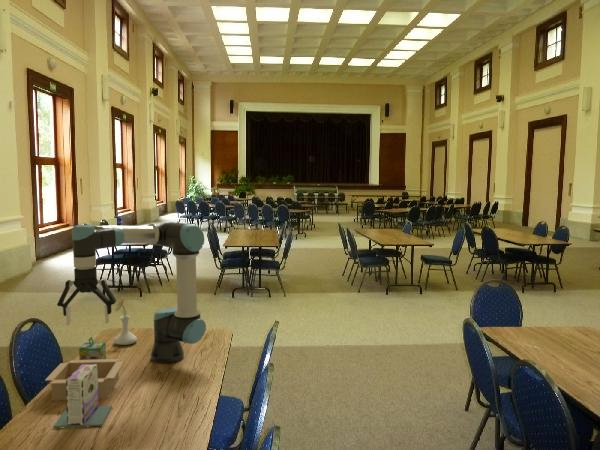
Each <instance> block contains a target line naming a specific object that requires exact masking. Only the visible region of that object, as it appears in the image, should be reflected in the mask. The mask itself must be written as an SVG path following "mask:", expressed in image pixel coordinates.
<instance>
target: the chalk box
mask: <svg viewBox="0 0 600 450" xmlns="http://www.w3.org/2000/svg"><path fill="white" fill-rule="evenodd" d="M106 345H107V344H106V342H105V341H94V339H93V337H92V336H90V337H89V338H88V342H84V343H83V344H82V345H81V346H80V348H78V353H79V354H78V355H79V360H95V359H107V350H106V349H107V348H106V347H107V346H106Z"/></svg>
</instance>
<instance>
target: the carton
mask: <svg viewBox="0 0 600 450" xmlns="http://www.w3.org/2000/svg"><path fill="white" fill-rule="evenodd" d="M124 363H125V362H124V361H119V358H106V359H95V360H80V359H71V360H70V361H69V362H61V363H59V365H57V367H56V368H55V369H54V370H52V372H51V373H50V374H49V375H48V376H47V377H46V378H45V379H44V381H45V382H50V387H51V401H52V402H53V401H54V402H55V401H67V392H66V379H67V378H69V377H70V376H71V375H72V374H73V373H74V372H75V371H76V370H77V369H78V368H79V367H80V366H81V365H82V364H87V365H88V364H97V368H98V395H99V400H106V399H108V398H109V397H110V395H111V394H112V392H113V391H114V388H115V386H116V385H117V383H118V382H119V380H120V379H119V373H120V372H119V371H121V368H122V366H123V365H124Z"/></svg>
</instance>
